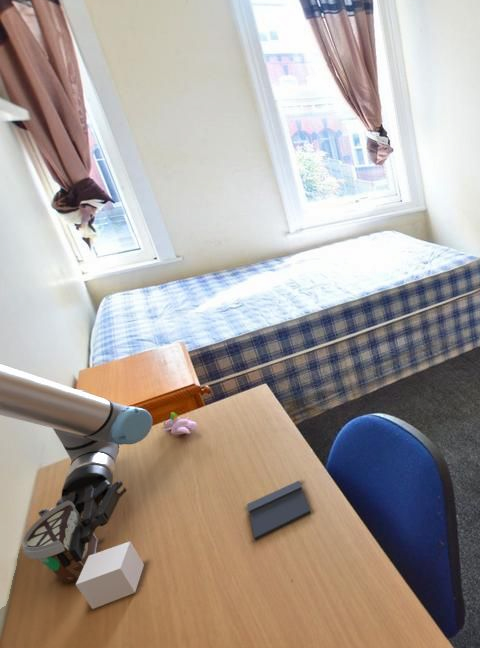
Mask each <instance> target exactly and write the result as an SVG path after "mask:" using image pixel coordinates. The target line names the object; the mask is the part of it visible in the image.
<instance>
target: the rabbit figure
mask: <svg viewBox="0 0 480 648" xmlns="http://www.w3.org/2000/svg"><path fill="white" fill-rule="evenodd" d="M189 419H190V417H189V416H186V418H180V416H179V415H178V414H177V413H175V412H173V411H172V412H170V419H168V420H167V421H165V420H162V422H163V427H164V428H163V429H162V432H167V431H170V434H171V435H184V434H186V435H189V434H191V431H197V429H198V425H197V422H196V421H192V420H189Z"/></svg>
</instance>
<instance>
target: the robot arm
mask: <svg viewBox="0 0 480 648" xmlns="http://www.w3.org/2000/svg"><path fill="white" fill-rule="evenodd" d="M0 416H3V417H7V418H11V419H16V420H19V421H23V422H27V423H31V424H34V425H39V426H43V427H47V428H51V429H52V430H53V431H54V434H56V436H57V438H58V439H59V441H60V443H61V444H62V446H63V448H64V450H65V452H66V453H67V455H68V457H69V459H70V465H69V467H68V471H67V474H66V476H65V480H64V483H63V486H62V490H61V495H60V496H61V497H60V498H59V500H58V501H57V502H56V503H55V506H53V507H52V508H50V509H47V508H43V509H41V510H40V511H39V512H38V515H39V517H40V518H41V517H42V516H44V515H45V514H46V513H48V512H49V511H51V510H52V509H54V508H55V507H57V506H59V505H61V504H62V503H64V502H66V501H70V502H72V503H73V504H74V505H75V506H76V507H74V508H75V509H76V510H77V512H78V513H79V515H80V516H81V517H82V519H81V520H80V522H81V524H82V525H83V526H81V525H79V526H76V527H75V530H74V534H73V538H72V542H71V545H70V549H69V553H70V554H71V556H72V557H73V559H74V560H75V562H76V563H77V562H79V561H81V560H82V557H83V553H84V548H85V544H86V543H88V542H90V541H91V540H92V535H93V534H94V532H95V531H96V529H97V528H98V527H104V526H106V525H107V524H108V523H109V521H110V519H111V517H112V515H113V513H114V510H115V508H116V506H117V505H118V502H119V500H120V499H121V497H122V496H123V495H124V494H125V493H126V492H127V488H126V486H125V485H124V482H123V481H122V480H117V481H115V482H114V483H113V480H114V475H115V468H116V462H117V457H118V455H119V452H120V446H122V445H135V444H138V443H139V442H141V441H143V440H144V439H145V438H147V436H148V435H149V433H150V432H151V430H152V427H153V417H152V414H151V413H150V412H149V411H148V410H147V409H145V408H141V407H138V406H134V405H131V406H128V405H125V404H121V403H118V402H114V401H112V400H108V399H105V398H103V397H100V396H97V395H94V394H92V393H91V394H90V393H88V392H87V391H86V390H83V389H76V388H73V387H70V386H67V385H64V384H61V383H58V382H55V381H52V380H49V379H47V378H43V377H40V376H37V375H34V374H31V373H29V372H26V371H22V370H19V369H16V368H12V367H10V366H7V365H4V364H0ZM57 558H58V559H59V561H60V562H61V564H62V565H63V567H64V568H65V567H68V566H70V563H71V562H70V561H69V560H68V558H67V557H66V556H65V554H64V553H60V554H57Z"/></svg>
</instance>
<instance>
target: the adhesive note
mask: <svg viewBox="0 0 480 648" xmlns="http://www.w3.org/2000/svg"><path fill="white" fill-rule="evenodd" d="M144 566H145V564H144V562H143V560H142V559H141V557H140V555H139V554H138V551H137V550H136V548H135V547H134V545H133V543H132V541H131V540H129V541H126V542H124V543H121V544H117V545H115V546H113V547H110V548H106V549H104V550H101V551H99V552H96V553H95V554H92V555H90V556H88V559H87V561H86V563H85V565H84V567H83V570H82V572H81V574H80V576H79V578H78V580H77V581H76V583H75V587H77V589H78V591H79V592H80V593H81V595H82V596H83V598H84V600H85V601H86V602H87V604H88V605H89V607H90V609H92V610H95V609H96V608H99V607H102V606H104V605H106V604H107V605H108V604H109V603H112V602H115V601H117V600H120V599H122V598H125V597H128V596H130V595H133V594H136V593H137V592H136V591H137V588H138V585H139V582H140V579H141V575H142V572H143V569H144Z"/></svg>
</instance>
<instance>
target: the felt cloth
mask: <svg viewBox="0 0 480 648" xmlns="http://www.w3.org/2000/svg"><path fill="white" fill-rule="evenodd" d="M305 496H306V495H305V494H304V490H303V488H302V485H301V483H300V480H298V481H295V482H293V483H291V484H287V485H286V486H284V487H281V488H279V489H277V490H276V491H273V492H271V493H268V494H266V495H264V496H261V497H260V498H257V499H255V500H253V501H250V502H249V503H247V511H248V513H249V516H250V522H251V527H252V533H253V537H254V540H256V541H257V540H259V539H260V538H263V537H265V536H266V535H268V534H270V533H273V532H275V531H277V530H279V529H281V528H283V527H285V526H287V525H289V524H291V523H293V522H295V521H297V520H299V519H301V518H303V517H306V516H307V515H309V514H311V510H310V507H309V504H308V501H307V498H306V497H305Z"/></svg>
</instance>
